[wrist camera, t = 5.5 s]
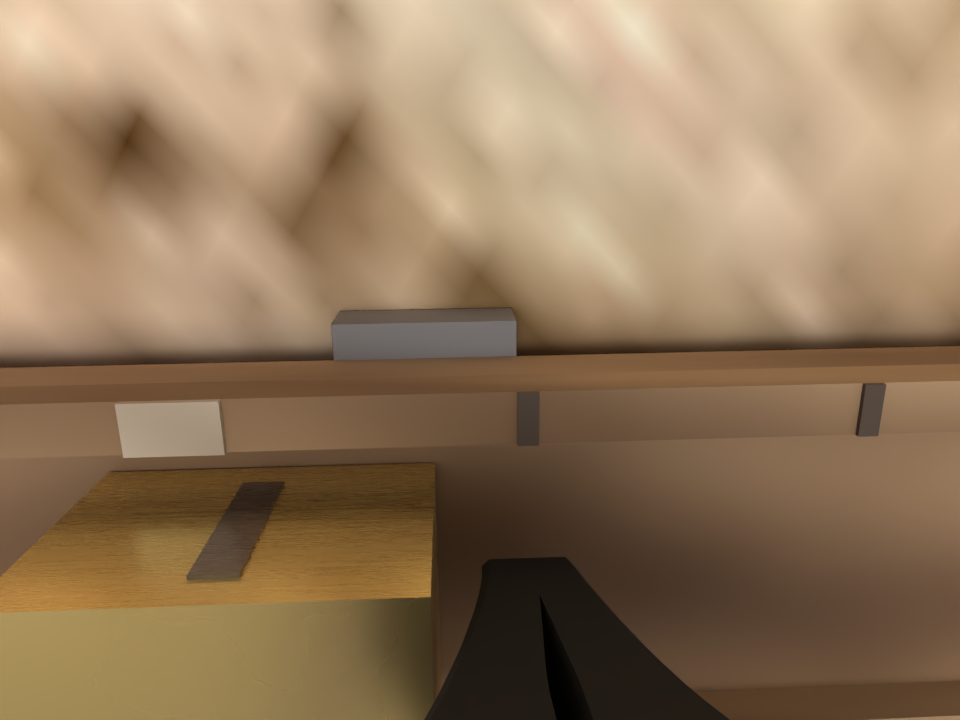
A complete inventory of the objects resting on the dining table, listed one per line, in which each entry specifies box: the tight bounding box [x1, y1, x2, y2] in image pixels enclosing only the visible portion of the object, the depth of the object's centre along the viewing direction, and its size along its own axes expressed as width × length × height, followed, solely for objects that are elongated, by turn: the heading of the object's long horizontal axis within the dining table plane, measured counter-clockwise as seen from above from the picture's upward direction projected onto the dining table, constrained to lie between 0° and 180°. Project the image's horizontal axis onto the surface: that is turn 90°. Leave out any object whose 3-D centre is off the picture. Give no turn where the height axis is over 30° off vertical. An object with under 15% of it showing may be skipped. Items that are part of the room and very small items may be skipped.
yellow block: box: [0, 463, 441, 720], centre depth 10 cm, size 4×5×4 cm
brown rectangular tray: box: [0, 308, 960, 720], centre depth 12 cm, size 8×24×3 cm, turn 91°
